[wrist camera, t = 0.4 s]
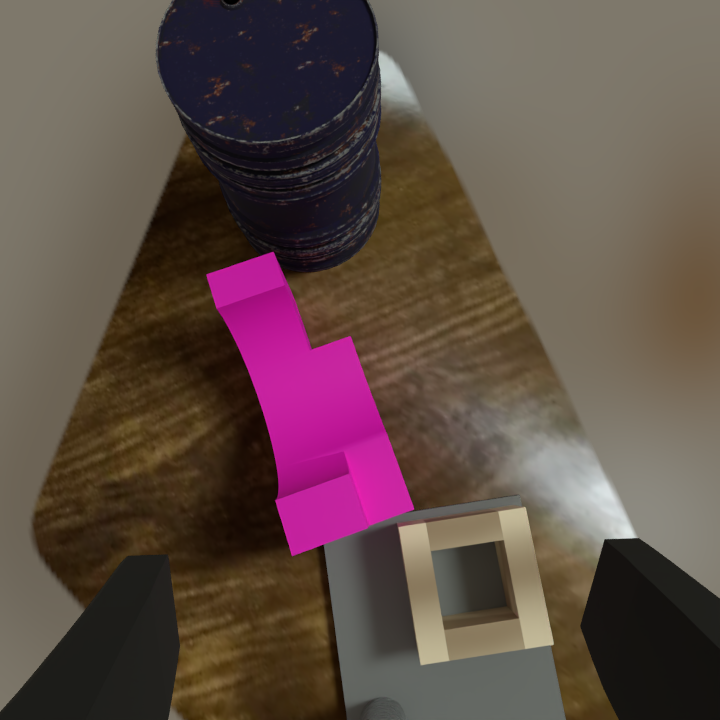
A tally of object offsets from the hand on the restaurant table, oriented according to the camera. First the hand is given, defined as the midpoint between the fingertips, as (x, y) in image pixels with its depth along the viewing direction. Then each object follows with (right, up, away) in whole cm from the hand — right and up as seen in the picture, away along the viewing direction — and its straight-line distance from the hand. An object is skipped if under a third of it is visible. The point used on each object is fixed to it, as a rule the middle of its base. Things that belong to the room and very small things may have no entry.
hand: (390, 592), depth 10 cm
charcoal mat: (+4, -12, +24) cm, 27 cm away
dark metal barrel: (-4, +14, +30) cm, 33 cm away
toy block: (-3, +1, +27) cm, 27 cm away
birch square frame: (+6, -9, +24) cm, 26 cm away
